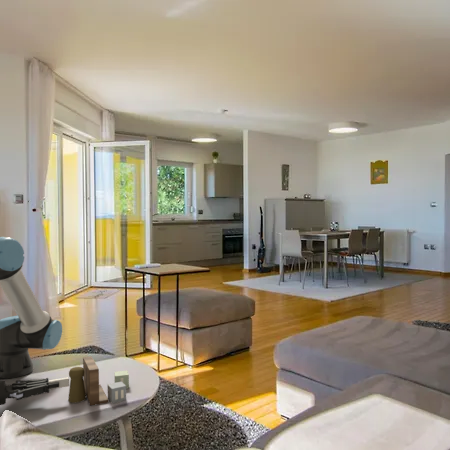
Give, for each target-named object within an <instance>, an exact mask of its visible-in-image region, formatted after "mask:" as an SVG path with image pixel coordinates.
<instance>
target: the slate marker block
mask: <svg viewBox="0 0 450 450" xmlns="http://www.w3.org/2000/svg"><path fill="white" fill-rule="evenodd" d="M107 398H108V401H109V402H110V403H111V404H115V403H120V402H123V401H127V388H126V385H125V384H124V383H122V382H117V383H115V382H113V383H112V382H111V383H107Z"/></svg>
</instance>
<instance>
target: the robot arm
mask: <svg viewBox="0 0 450 450" xmlns="http://www.w3.org/2000/svg"><path fill="white" fill-rule="evenodd" d="M24 254H25V250H24V247H23V246H22V244H21V243H20V242H19V241H18V240H16V239H15V238H12V237H6V236H0V288H1V290H2V291H3V293H4V294H5V296H6V298H7V300H8V301H9V303H10V305H11V307H12V308H13V310H14V311H15V314H16V315H12V316H8V317H4V318H1V319H0V379H3V380H0V406H3V405H6V403H7V399H15V400H16V401H20V400H23V399H26V398H30V397H34V396H38V395H43V394H46V393H47V394H49V393H50V390H56V389H60V388H66V387H70V377H69V376H67V377H62V378H61V377H59V378H56V379H49V377H46V378H37V379H25V380H19V379H17V380H15V382H13V383H11V384H7V383H6V382H7V381H6V380H4V379H13V378H19V377H22V376H26V375H29V374H31V373H32V372H33V371H34V363H33V360H32V358H31V356H30V353H29V350H31V349H32V350H33V349H34V350H43V351H45V350H53V349H55V348H56V347H57V346H58V345H59V342H60V341H61V338H62V335H63V334H62V333H63V325H62V322H61V321H60V320H58V319H52V317H51V315H50V313H49V312H48V311H45V310H43V309H42V306H41V305H40V303H39V301H38V300H37V298H36V295H35V294H34V291H33V290H32V288H31V286H30V284H29V282H28V280H27V279H26V277H25V275H24V273H23V271H22V269H23V266H24V265H23V264H24V262H25V256H24ZM6 384H7V385H6Z"/></svg>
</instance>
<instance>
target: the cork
mask: <svg viewBox="0 0 450 450" xmlns="http://www.w3.org/2000/svg"><path fill="white" fill-rule="evenodd" d="M84 373H85V371H84V369H83V366H75V367H72V368H70V370H69V371H68V377H69V390H68V400H67V402H69V403H72V404H73V403H74V404H76V403H81V402H84V401H86V400H87V397H86V393H85V387H84V379H83V376H84Z"/></svg>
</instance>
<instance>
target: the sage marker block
mask: <svg viewBox="0 0 450 450" xmlns="http://www.w3.org/2000/svg"><path fill="white" fill-rule="evenodd" d="M129 375H130V374H129V370H120V371H114V383H117V382H122V383H124V384H125V385H126V389H129V388H130V376H129Z"/></svg>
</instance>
